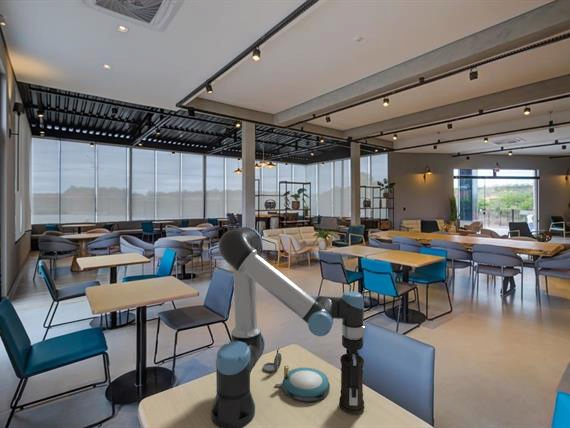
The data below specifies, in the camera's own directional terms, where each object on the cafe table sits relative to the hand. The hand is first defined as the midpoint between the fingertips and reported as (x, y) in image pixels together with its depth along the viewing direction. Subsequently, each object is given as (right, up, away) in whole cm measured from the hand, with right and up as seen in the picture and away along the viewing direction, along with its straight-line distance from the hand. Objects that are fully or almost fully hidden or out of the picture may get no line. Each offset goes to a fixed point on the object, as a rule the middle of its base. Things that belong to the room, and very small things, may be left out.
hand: (351, 396), depth 113 cm
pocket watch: (-30, -3, +25) cm, 39 cm away
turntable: (-16, -2, +12) cm, 20 cm away
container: (0, -4, 0) cm, 4 cm away
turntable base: (-17, -3, +12) cm, 21 cm away
